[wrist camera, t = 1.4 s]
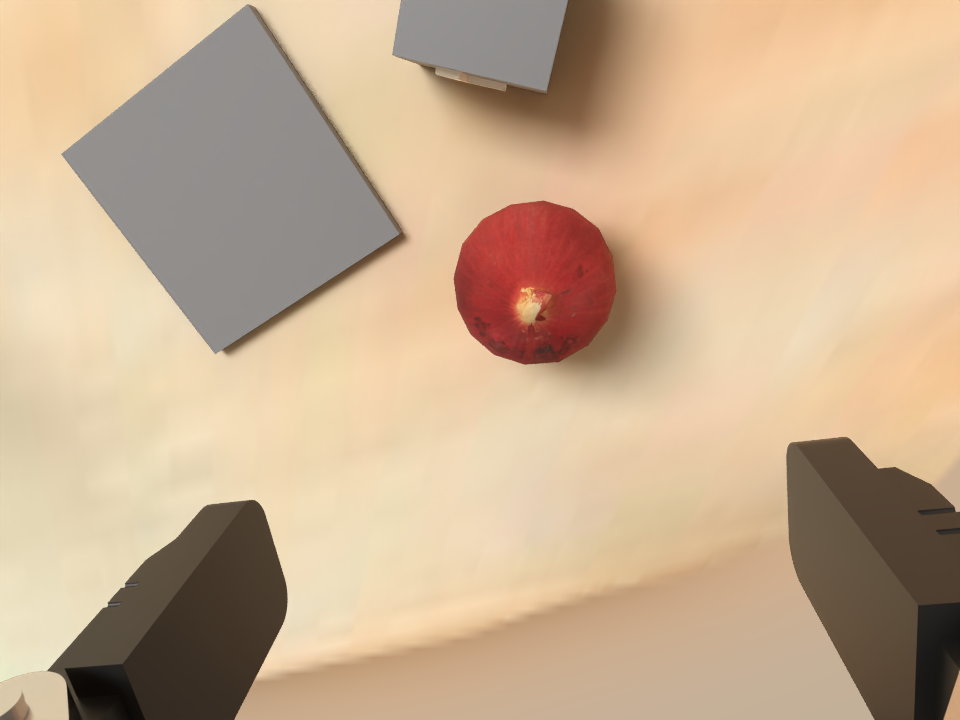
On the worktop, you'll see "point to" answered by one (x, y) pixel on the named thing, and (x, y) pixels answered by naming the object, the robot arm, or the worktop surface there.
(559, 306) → the onion
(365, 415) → the worktop surface
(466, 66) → the marked cube
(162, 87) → the mat
